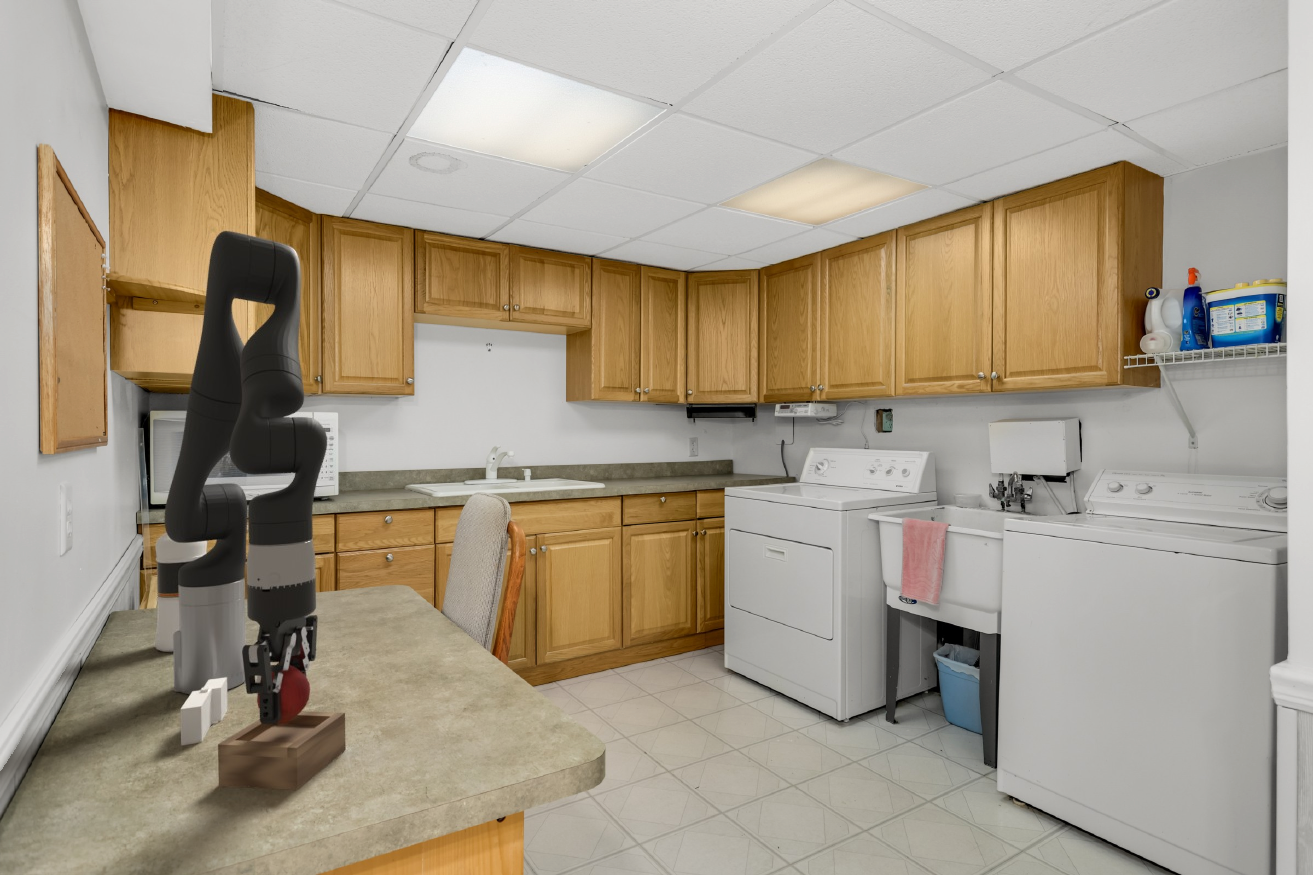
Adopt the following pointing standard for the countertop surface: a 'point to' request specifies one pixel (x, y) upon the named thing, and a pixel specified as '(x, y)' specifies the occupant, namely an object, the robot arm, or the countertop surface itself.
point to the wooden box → (281, 751)
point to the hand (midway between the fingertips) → (284, 710)
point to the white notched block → (203, 710)
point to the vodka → (171, 585)
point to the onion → (292, 694)
